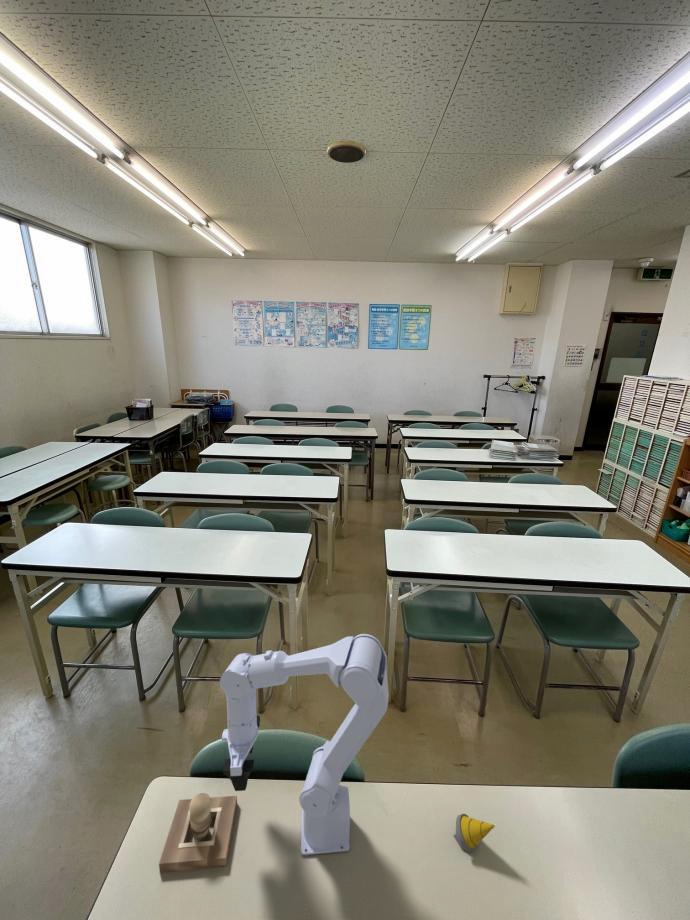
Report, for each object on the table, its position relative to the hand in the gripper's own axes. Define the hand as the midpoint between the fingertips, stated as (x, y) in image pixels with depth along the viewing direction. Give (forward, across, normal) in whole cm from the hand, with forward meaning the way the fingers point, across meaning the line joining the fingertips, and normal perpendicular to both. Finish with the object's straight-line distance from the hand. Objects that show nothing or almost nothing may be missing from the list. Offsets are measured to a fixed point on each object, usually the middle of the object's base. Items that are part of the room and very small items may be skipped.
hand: (243, 769), depth 78 cm
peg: (+10, +4, -8) cm, 14 cm away
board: (+10, +4, -8) cm, 14 cm away
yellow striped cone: (+11, +9, +46) cm, 48 cm away
